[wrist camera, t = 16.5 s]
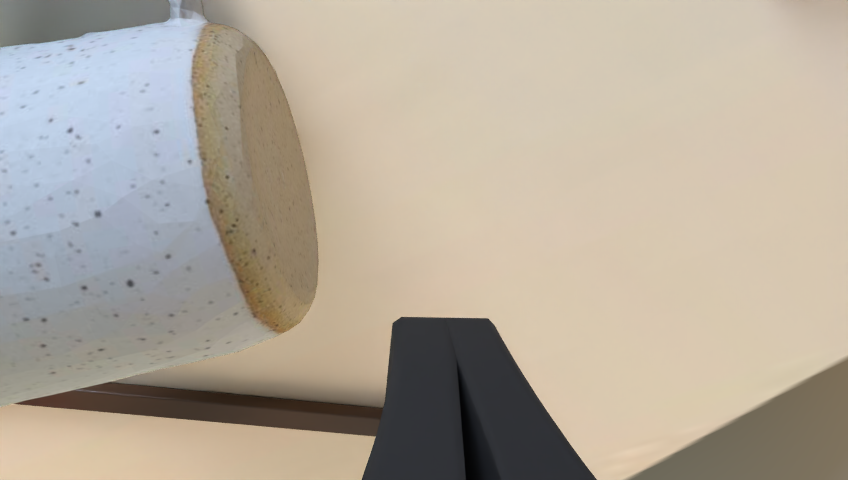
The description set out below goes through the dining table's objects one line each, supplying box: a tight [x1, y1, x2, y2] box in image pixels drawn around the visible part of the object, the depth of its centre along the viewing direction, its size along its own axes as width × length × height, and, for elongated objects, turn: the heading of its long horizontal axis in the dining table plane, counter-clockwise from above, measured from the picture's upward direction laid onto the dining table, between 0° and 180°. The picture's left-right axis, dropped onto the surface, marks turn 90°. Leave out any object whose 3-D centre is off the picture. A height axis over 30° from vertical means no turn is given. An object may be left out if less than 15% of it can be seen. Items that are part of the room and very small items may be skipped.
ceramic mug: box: [0, 0, 318, 407], centre depth 16 cm, size 11×8×8 cm
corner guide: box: [14, 382, 383, 436], centre depth 21 cm, size 18×18×1 cm
